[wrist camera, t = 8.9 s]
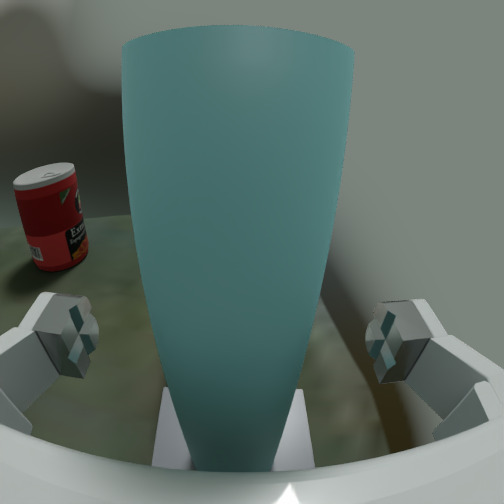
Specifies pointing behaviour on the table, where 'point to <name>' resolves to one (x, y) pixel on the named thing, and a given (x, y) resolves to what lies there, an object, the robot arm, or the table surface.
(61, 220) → the canned food
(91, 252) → the table surface
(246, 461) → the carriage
